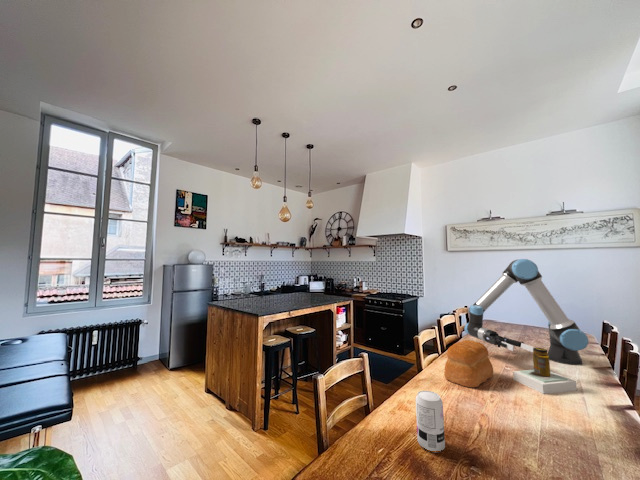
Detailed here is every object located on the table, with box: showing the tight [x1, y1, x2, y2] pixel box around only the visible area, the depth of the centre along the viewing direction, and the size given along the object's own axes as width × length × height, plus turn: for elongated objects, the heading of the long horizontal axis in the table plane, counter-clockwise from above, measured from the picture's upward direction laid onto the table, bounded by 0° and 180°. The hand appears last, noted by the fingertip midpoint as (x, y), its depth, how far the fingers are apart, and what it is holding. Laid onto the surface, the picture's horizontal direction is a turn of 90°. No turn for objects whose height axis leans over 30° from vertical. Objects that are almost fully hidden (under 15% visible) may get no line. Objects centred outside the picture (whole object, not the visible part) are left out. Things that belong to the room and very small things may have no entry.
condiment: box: [528, 347, 554, 379], centre depth 126 cm, size 7×8×12 cm
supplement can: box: [415, 390, 446, 452], centre depth 85 cm, size 8×8×15 cm
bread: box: [443, 339, 494, 388], centre depth 135 cm, size 16×26×17 cm, turn 128°
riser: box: [512, 369, 578, 395], centre depth 126 cm, size 18×15×5 cm
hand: (523, 349), depth 137 cm, fingers open, 13 cm apart
